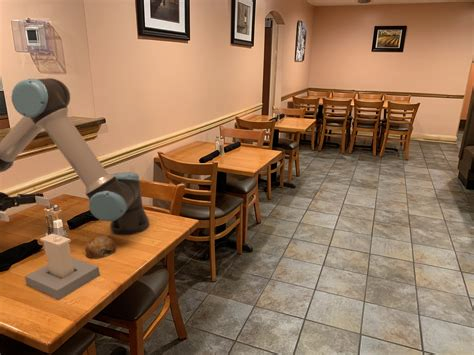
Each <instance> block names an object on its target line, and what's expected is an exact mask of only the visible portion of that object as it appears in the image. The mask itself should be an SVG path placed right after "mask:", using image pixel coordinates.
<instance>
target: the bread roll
mask: <svg viewBox="0 0 474 355" xmlns="http://www.w3.org/2000/svg"><path fill="white" fill-rule="evenodd" d="M116 248H117V246H116V243H115V240H114V239H112V238H111V237H110V236H107V235H104V234H99V235H98V234H97V235H95V236H93V237H91V238H89V240H88V241H87V242H86V244H85V246H84V252H85V255H86V256H87V257H89V258H92V259H100V258H107V257H109V256H110V255H112V253H113V252H115V251H116Z"/></svg>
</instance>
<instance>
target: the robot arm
mask: <svg viewBox="0 0 474 355" xmlns="http://www.w3.org/2000/svg"><path fill="white" fill-rule="evenodd" d="M11 92H12V93H11V103H12V106H13V108H14V109H15V110H16V112H17V113H18V114H20V116H22V117H21V118H20V120H19V121H18V122H17V123H16V124H15V125H14V126H13V127H12V129H10V131H9V132H8V133H7V134H6V135H5V137H3V139H2V140H1V141H0V173H3V172H6V171H8V170H9V169H11V168H12V167H13V165H14V162H15V161H14V160H15V159H16V158H17V157H18V156H19V155H20V154H21V153H22V152H23V151H24V149H25V148H26V147H27V146H28V145H29V144H30V143H31V142H32V141H33V140H34V139H35V137H36V136H38V134H40V132H41V131H42V130H44V131H45V132H46V133H47V135H48V136H49V138H50V139H51V140H52V142H53V143H54V144H55V146H56V147H57V148H58V150H59V152H60V153H61V154H62V156H63V157H64V158H65V159H66V161H67V162H68V164H69V165H70V167H71V168H72V169H73V170H74V172H75V173H76V175H77V176H78V177H79V179H80V181H81V182H82V184H84V186H85V191H84V194H85V195H86V197H87V199H89V202H88V203H89V204H88V208H89V212H90V213H91V214H92V216H94V218H96V219H98V220H99V221H103V222H110V231H111V232H112V234H114V235H119V236H129V235H135V234H138V233H142V232H143V231H145V230H147V229H148V228H149V227H150V221H149V220H150V219H149V218H148V216H147V214H146V211H145V210H144V207H143V206H144V205H143V199H142V198H143V197H142V191H141V189H142V188H141V180H140V175H139V173H137V172H133V171H132V172H130V171H128V172H127V171H126V172H115V173H108V172H107V170H106V169H105V168H104V166H103V164H102V163H101V162H100V160H99V159H98V157H97V156H96V155H95V154H94V152H93V150H92V149H91V147H90V146H89V144H88V143H87V141H86V140H85V138H84V137H83V136H82V135H81V133H80V132H79V130H78V129H77V128H76V126H75V124H74V123H73V122H72V120H71V119H70V117H69V116H68V112H69V108H68V106H69V104H70V102H71V93H70V91H69V88H68V87H67V85H66V84H65V83H64V82H62V81H60V80H59V79H56V78H53V77H50V78H49V77H48V78H28V79H24V80H21V81H19V82H18V83H16V84H15V85H14V87H13V89H12V91H11ZM16 195H17V196H15V195H14V196H10V195H9V194H7V193H5V192H3V191H0V221H3V222H10V218H9V213H8V212H6V211H7V210H8V209H11V208H15V207H16V208H17V207H20V206H22V205H28V204H29V205H30V204H36V205H40V206H44V207H50V206H51V204H50V203H51V202H50V199H49V197H45V195H44V193H42V192H41V193H39V192H37V193H25V194H24V193H23V194H22V193H18V194H16Z"/></svg>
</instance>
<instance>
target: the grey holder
mask: <svg viewBox="0 0 474 355" xmlns="http://www.w3.org/2000/svg"><path fill="white" fill-rule="evenodd" d="M71 259H72V264H73V269H74V272H73V273H72V274H70V275H68V276H66V277H64V278H63V279H60V278H58V277H55V276H53V275H50V270H49V265H48V264H46V265H45V266H43V267H40V268H38V269H36V270H34V271H32V272H30V273H28V274H26V275H24V279H25V284H26V285H27V287H30V288H32V289H35V290H37V291H39V292H42V293H44V294H45V295H49V296H50V297H52V298H55V299H56V300H61V299H62V298H64V297H66V296H68V295H69V294H70V293H73V292H74V291H76V290H78V289H80V287H83V286H84V285H86V284H88V283H89V282H91V281H92V280H94V279H96V278H98V277H99V276H101V275H100V269H99V266H97V265H95V264H92V263H89V262H86V261H83V260H80V259H77V258H74V257H72V256H71Z"/></svg>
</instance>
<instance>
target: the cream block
mask: <svg viewBox="0 0 474 355" xmlns="http://www.w3.org/2000/svg"><path fill="white" fill-rule="evenodd" d="M39 240H40V242H42V243H43V248H44V251H45V255H46V260H47V265H49V270H50V275H53V276H55V277H58V278H60V279H63V278H64V277H66V276H68V275H70V274H72V273H73V272H74V269H73V264H72V259H71V257H72V253H71V249H70V244H69V243H70V242H72V240H71V238H67V237H65V236H62V235H58V234H55V233H50V234H48V235H46V236H44V237H41V238H39Z"/></svg>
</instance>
